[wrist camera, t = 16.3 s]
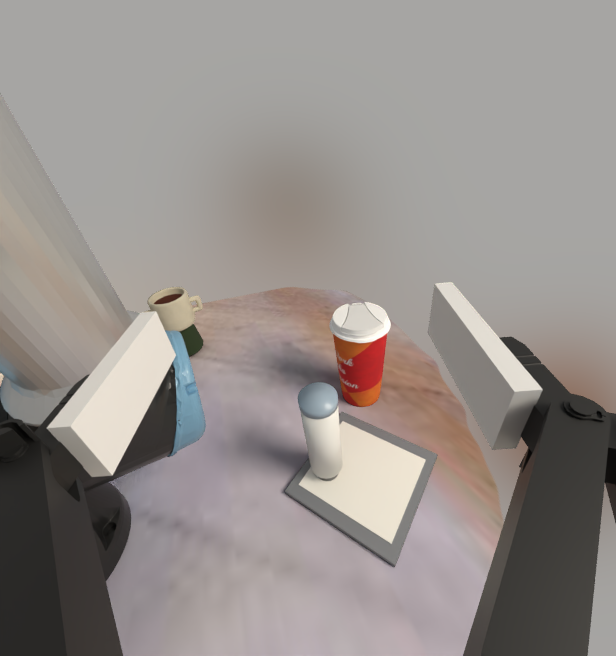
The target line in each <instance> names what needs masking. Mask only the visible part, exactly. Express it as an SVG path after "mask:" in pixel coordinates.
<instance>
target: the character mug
mask: <svg viewBox="0 0 616 656" xmlns="http://www.w3.org/2000/svg"><path fill="white" fill-rule="evenodd" d="M193 301H196V303H197V307H194V308H193V307H192V304H191V302H193ZM148 305H149V307H150V309H151V310H148V311H145V312H153V311H156V312H157V314H158V317H159V319H160V321H161V323H162V325H163V328H164V330H167V331H172V330H176V331H178V332H180V333H181V335H182V337H183V340H184V343H185V346H186V349H187V353H188V356H191V355H193V354H195V353H197V352H198V351H199V350H200V349H201V348H202V346H203V340H202V338H201V336H200V334H199V332H198V331H197V329H196V327H195V325H194V324H193V323H194V321H195V312H197V311H200V310H202V309H203V305H202V302H201V299H200V297H199V296H193V297H190V298H189V296H188V293H187V291H186V290H185V289H184V288H180V287H171V288H166V289H163V290H160V291H158V292H156V293H154V294H153V295H151V296H150V297H149V299H148Z"/></svg>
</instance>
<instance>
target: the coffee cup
mask: <svg viewBox="0 0 616 656" xmlns="http://www.w3.org/2000/svg"><path fill="white" fill-rule="evenodd" d="M390 324H391V323H390V320H389V318H388V317H387V313H386V312H385V310H384V309H383V308H381V307H380V306H378V305H376V304H373V303H368V302H364V303H363V304H361V303H352V305H349V306H348V304H345V305H343V306H341V307H339V308H338V309H337V310H336V311H335V312H334V314H333V317H332V319H331V321H330V330H331V332H332V333H333V336H334V343H335V350H336V357H337V363H338V370H339V377H340V383H341V389H342V394H343V397H344V399H345V400H346V401H347V402H348V403H349V404H351V405H354V406H357V407H366V406H370V405H372V404H374V403H375V402H376V401H377V400H378V398H379V394H380V388H381V381H382V373H383V364H384V356H385V347H386V338H387V332H388V331H389V329H390Z"/></svg>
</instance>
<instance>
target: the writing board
mask: <svg viewBox="0 0 616 656" xmlns="http://www.w3.org/2000/svg"><path fill="white" fill-rule="evenodd" d="M339 425H340V437H341V450H342V462H343V465H342V469H341V471H340V472H339V474H338V476H337V477H336V478H335V479H334V480H332V481H323V480H321V479H320V478H318V476H316V475H315V474H314V473H313V471H312V469H311V465H310V460H309V458H308V460H307V461H306V462H305V464H304V465H303V467H302V468H301V469H300V471H299V472H298V473H297V475H296V476H295V478H294V479H293V480H292V482H291V483H290V485H289V486H288V487H287V489H286V490H285V493H286V494H287V495H289V496H290V497H292V498H293V499H295V500H296V501H298V502H299V503H301V504H302V505H303V506H305V507H306V508H308V509H309V510H311V511H312V512H314V513H315V514H317V515H318V516H320V517H321V518H323V519H324V520H326V521H327V522H329V523H330V524H332V525H333V526H335V527H336V528H338V529H339V530H340V531H342V532H343V533H345V534H346V535H348V536H349V537H351V538H352V539H354V540H355V541H357V542H358V543H360V544H361V545H363V546H364V547H366V548H367V549H369V550H370V551H372V552H373V553H375V554H376V555H377V556H379V557H380V558H382V559H383V560H385V561H386V562H388V563H389V564H391V565H392V566H394V567H395V565H396V563H397V560H398V558H399V555H400V552H401V550H402V547H403V544H404V542H405V539H406V537H407V534H408V531H409V529H410V526H411V524H412V521H413V518H414V516H415V513H416V511H417V508H418V505H419V503H420V500H421V497H422V495H423V492H424V490H425V487H426V484H427V482H428V479H429V477H430V474H431V471H432V469H433V466H434V464H435V461H436V458H437V454H435V453H433V452H431V451H428V450H426V449H424V448H422V447H420V446H417V445H415V444H413V443H411V442H408V441H406V440H404V439H402V438H399V437H397V436H395V435H393V434H391V433H388V432H386V431H384V430H382V429H379V428H377V427H375V426H373V425H370V424H368V423H366V422H364V421H362V420H359V419H357V418H355V417H353V416H350V415H348V414H346V413H344V412H341V413H340V415H339Z"/></svg>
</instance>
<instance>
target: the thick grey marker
mask: <svg viewBox="0 0 616 656" xmlns="http://www.w3.org/2000/svg"><path fill="white" fill-rule="evenodd" d="M298 403H299V408H300V411H301V417H302V422H303V428H304V433H305V438H306V444H307V449H308V455H309V460H310V465H311V469H312V471H313V473H314V474H315V475H316V476H318V478H320V479H321V480H323V481H332V480H334V479H335V478H336V477H337V476H338V474H339V472H340V471H341V469H342V465H343V462H342V450H341V437H340V425H339V412H338V394H337V391H336V390H335V388H334V387H333V386H331V385H329V384H327V383H322V382H316V383H311V384H309V385H307V386H305V387H304V388H303V389H302V390H301V391H300V393H299V395H298Z"/></svg>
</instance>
